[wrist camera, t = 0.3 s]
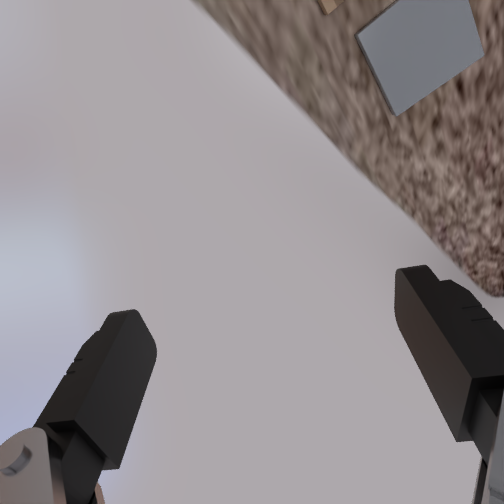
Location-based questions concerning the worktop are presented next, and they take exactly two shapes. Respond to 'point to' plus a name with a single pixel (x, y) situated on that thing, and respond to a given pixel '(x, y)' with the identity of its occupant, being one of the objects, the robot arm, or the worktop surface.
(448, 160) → the worktop surface
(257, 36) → the worktop surface
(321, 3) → the square wooden frame
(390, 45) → the coaster
